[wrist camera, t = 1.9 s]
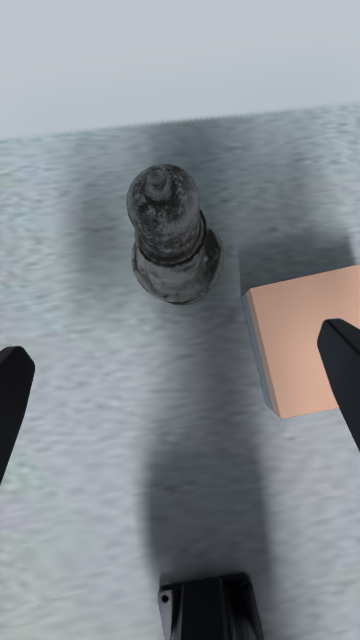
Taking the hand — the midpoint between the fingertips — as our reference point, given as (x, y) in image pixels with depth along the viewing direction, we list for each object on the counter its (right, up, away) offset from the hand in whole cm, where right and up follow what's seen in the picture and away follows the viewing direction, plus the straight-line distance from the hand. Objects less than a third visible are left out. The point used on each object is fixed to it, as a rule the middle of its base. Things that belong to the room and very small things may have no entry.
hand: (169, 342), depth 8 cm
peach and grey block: (+10, -1, +11) cm, 15 cm away
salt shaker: (0, +4, +12) cm, 13 cm away
